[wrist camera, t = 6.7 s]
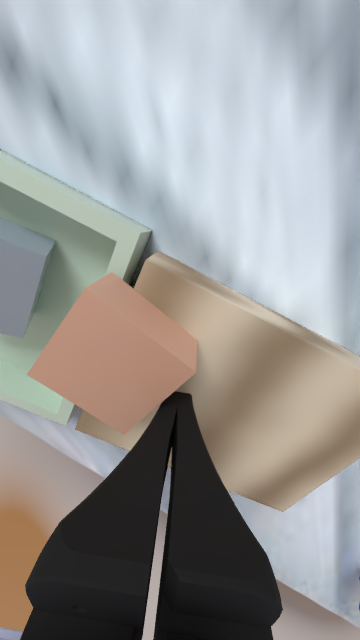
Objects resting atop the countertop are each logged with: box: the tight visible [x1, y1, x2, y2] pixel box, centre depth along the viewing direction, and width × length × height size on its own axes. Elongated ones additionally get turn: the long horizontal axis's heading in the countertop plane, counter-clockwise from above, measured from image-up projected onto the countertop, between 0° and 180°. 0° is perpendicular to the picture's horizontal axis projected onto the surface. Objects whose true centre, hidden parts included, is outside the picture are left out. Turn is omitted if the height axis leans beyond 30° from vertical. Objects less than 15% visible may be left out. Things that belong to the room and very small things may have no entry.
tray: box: [0, 150, 152, 426], centre depth 12 cm, size 13×14×2 cm
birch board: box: [75, 251, 360, 512], centre depth 14 cm, size 16×12×3 cm
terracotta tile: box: [27, 272, 197, 435], centre depth 10 cm, size 5×5×2 cm
